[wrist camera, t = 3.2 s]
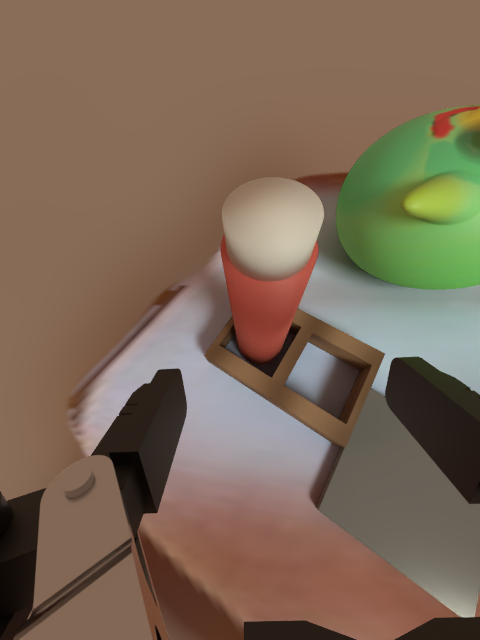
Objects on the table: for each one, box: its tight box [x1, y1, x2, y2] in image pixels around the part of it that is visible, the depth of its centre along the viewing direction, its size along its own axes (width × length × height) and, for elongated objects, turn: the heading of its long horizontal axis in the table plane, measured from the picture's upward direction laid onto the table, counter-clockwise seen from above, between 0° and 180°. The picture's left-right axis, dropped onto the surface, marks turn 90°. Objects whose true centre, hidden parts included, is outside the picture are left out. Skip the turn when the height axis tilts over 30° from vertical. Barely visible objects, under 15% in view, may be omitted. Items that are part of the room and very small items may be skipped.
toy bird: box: [336, 105, 480, 289], centre depth 21 cm, size 18×17×15 cm
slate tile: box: [316, 389, 480, 617], centre depth 19 cm, size 11×11×1 cm
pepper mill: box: [221, 177, 324, 365], centre depth 17 cm, size 5×5×17 cm
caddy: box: [204, 308, 385, 448], centre depth 23 cm, size 14×9×2 cm, turn 57°
